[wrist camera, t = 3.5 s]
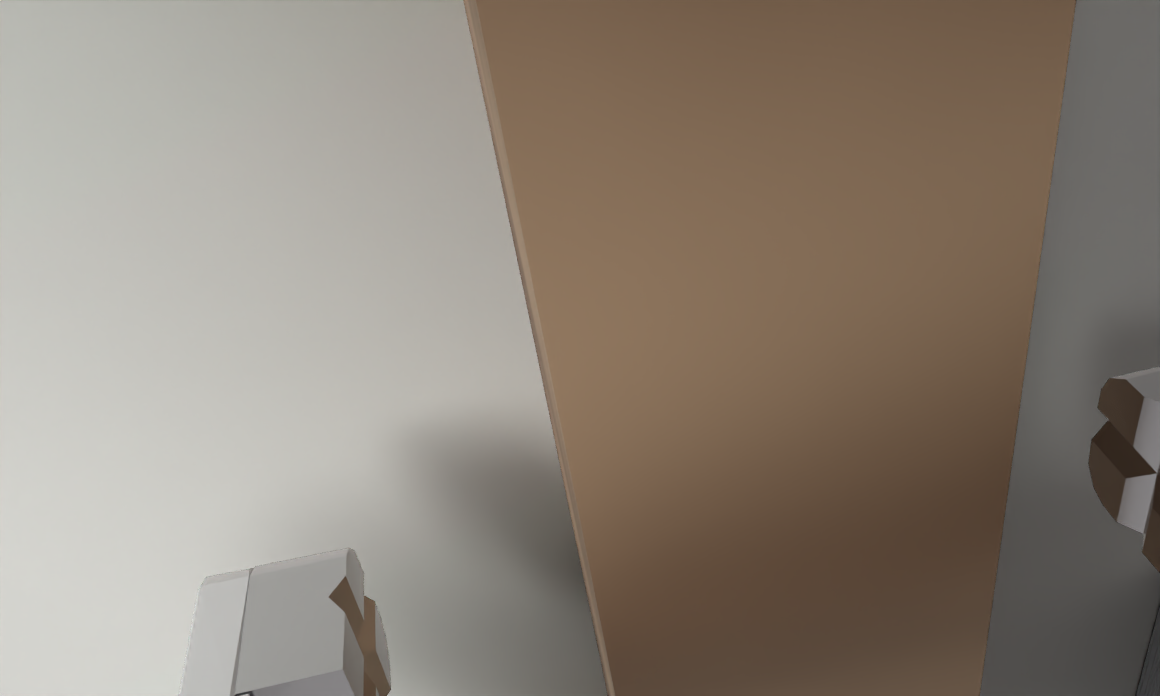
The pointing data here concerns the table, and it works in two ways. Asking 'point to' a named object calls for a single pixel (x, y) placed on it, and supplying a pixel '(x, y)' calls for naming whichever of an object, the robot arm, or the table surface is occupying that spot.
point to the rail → (780, 319)
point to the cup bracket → (1151, 665)
